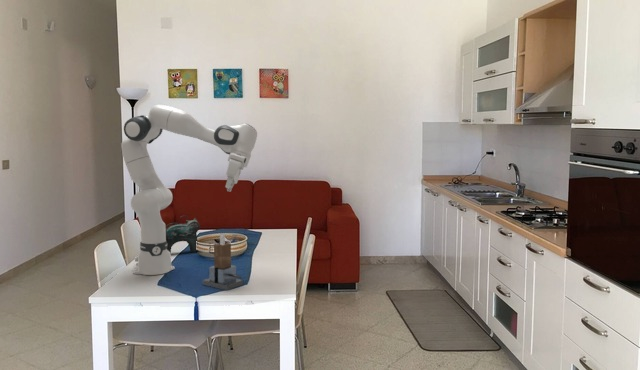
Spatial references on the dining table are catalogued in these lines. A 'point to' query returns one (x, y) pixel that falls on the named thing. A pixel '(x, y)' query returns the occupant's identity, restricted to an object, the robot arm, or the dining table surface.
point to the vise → (223, 275)
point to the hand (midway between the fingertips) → (227, 189)
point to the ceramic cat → (183, 234)
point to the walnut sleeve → (222, 255)
